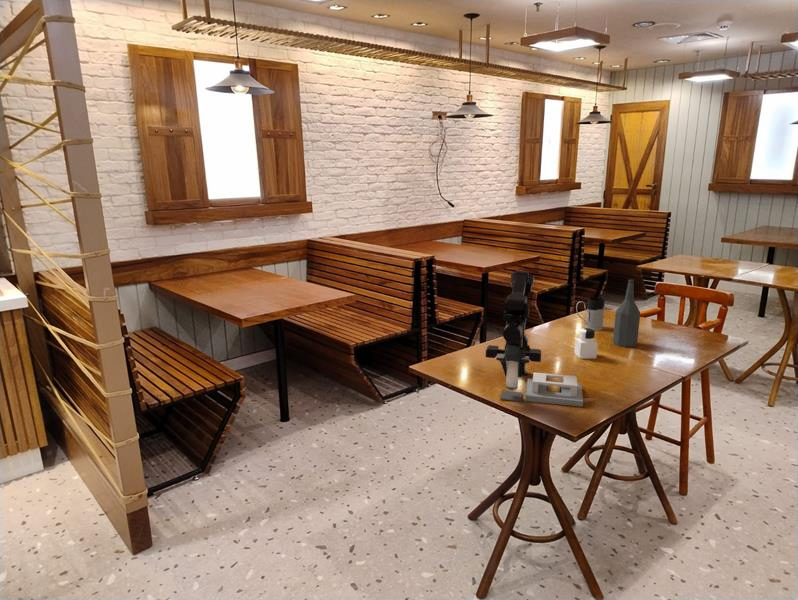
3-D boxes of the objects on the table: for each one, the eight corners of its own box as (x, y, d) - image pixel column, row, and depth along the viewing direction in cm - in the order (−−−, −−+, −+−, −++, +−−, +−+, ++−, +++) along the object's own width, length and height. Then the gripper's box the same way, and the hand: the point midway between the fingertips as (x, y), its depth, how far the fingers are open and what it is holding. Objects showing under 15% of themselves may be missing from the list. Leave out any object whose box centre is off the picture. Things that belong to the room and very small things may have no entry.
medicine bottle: (590, 353, 238) (592, 326, 235) (596, 358, 231) (598, 331, 228) (574, 353, 238) (576, 326, 235) (579, 359, 231) (582, 331, 228)
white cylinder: (504, 385, 195) (505, 356, 192) (515, 385, 195) (516, 356, 192) (507, 390, 191) (509, 360, 188) (519, 389, 191) (520, 360, 188)
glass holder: (606, 330, 270) (608, 300, 267) (577, 330, 270) (579, 301, 266) (599, 325, 279) (602, 296, 275) (571, 325, 278) (574, 296, 275)
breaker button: (547, 391, 198) (548, 384, 197) (559, 392, 197) (559, 385, 196) (547, 395, 194) (548, 388, 194) (559, 396, 193) (560, 390, 193)
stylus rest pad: (502, 391, 198) (502, 390, 198) (521, 394, 196) (521, 392, 196) (500, 399, 191) (500, 398, 191) (520, 402, 190) (520, 400, 190)
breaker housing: (527, 383, 206) (528, 368, 204) (580, 388, 201) (581, 373, 199) (525, 400, 191) (526, 384, 189) (582, 406, 186) (584, 390, 184)
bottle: (631, 340, 254) (638, 277, 247) (640, 347, 245) (647, 282, 238) (609, 340, 255) (615, 277, 247) (617, 347, 245) (623, 282, 238)
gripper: (484, 339, 183) (482, 382, 187) (541, 343, 178) (539, 388, 182) (488, 329, 193) (486, 370, 197) (542, 333, 189) (539, 375, 192)
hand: (512, 376), depth 192 cm, fingers closed on white cylinder, 4 cm apart
